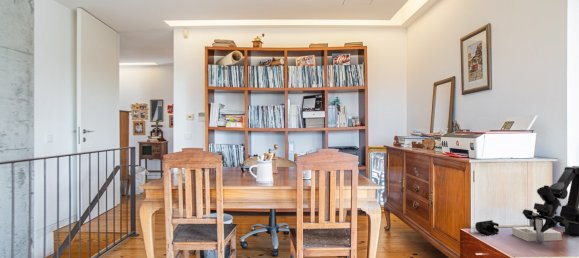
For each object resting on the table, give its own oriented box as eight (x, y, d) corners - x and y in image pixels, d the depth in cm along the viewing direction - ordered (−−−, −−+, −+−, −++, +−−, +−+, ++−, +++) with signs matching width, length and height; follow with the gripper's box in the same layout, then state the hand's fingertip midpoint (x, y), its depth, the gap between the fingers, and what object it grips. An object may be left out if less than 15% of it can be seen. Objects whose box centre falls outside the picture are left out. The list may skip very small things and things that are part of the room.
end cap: (488, 230, 182) (487, 219, 182) (499, 234, 175) (499, 222, 175) (475, 232, 179) (474, 220, 179) (486, 236, 172) (485, 224, 173)
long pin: (540, 242, 161) (539, 218, 161) (545, 244, 158) (544, 219, 158) (535, 242, 161) (534, 218, 161) (539, 244, 158) (538, 220, 158)
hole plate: (544, 233, 173) (544, 226, 174) (561, 240, 162) (561, 232, 163) (512, 234, 174) (512, 227, 174) (527, 241, 163) (527, 233, 163)
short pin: (533, 231, 178) (533, 219, 178) (537, 232, 175) (537, 220, 175) (528, 231, 178) (528, 219, 178) (532, 233, 175) (532, 220, 175)
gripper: (523, 194, 170) (511, 217, 165) (564, 200, 152) (552, 226, 148) (533, 207, 173) (521, 229, 168) (574, 214, 155) (562, 240, 151)
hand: (538, 231), depth 159 cm, fingers closed on long pin, 3 cm apart
